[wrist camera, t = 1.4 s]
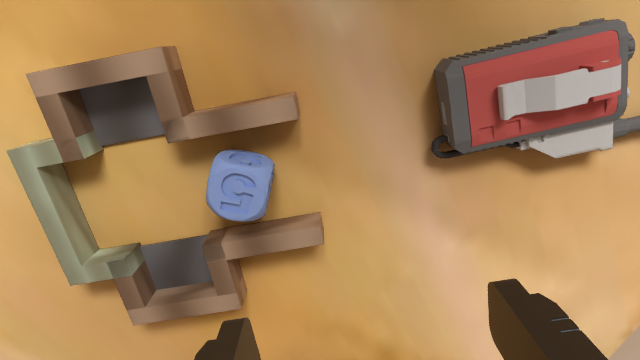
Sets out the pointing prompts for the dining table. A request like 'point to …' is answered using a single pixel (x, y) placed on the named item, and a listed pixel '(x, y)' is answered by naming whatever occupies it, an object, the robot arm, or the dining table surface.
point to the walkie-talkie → (539, 92)
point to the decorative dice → (240, 185)
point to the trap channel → (131, 124)
